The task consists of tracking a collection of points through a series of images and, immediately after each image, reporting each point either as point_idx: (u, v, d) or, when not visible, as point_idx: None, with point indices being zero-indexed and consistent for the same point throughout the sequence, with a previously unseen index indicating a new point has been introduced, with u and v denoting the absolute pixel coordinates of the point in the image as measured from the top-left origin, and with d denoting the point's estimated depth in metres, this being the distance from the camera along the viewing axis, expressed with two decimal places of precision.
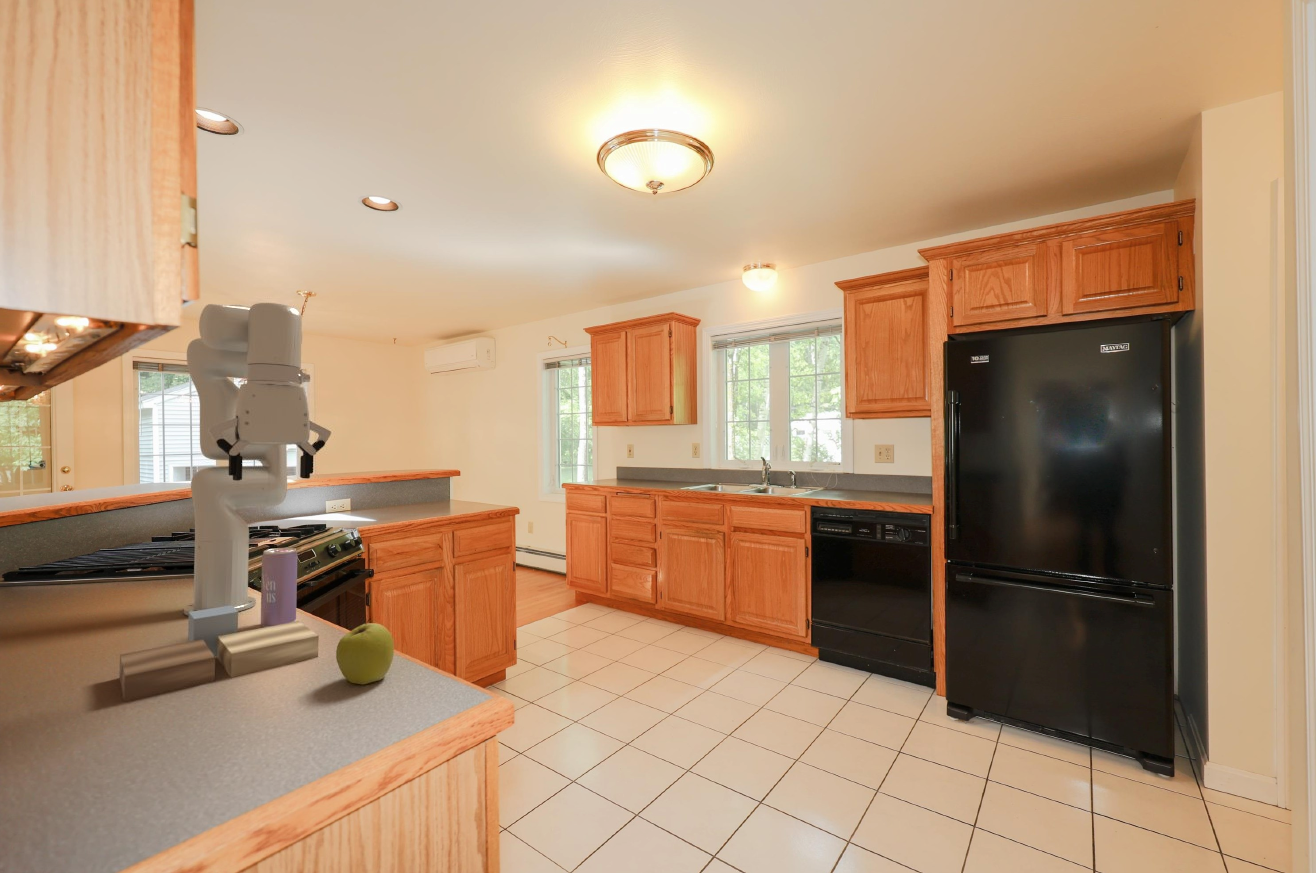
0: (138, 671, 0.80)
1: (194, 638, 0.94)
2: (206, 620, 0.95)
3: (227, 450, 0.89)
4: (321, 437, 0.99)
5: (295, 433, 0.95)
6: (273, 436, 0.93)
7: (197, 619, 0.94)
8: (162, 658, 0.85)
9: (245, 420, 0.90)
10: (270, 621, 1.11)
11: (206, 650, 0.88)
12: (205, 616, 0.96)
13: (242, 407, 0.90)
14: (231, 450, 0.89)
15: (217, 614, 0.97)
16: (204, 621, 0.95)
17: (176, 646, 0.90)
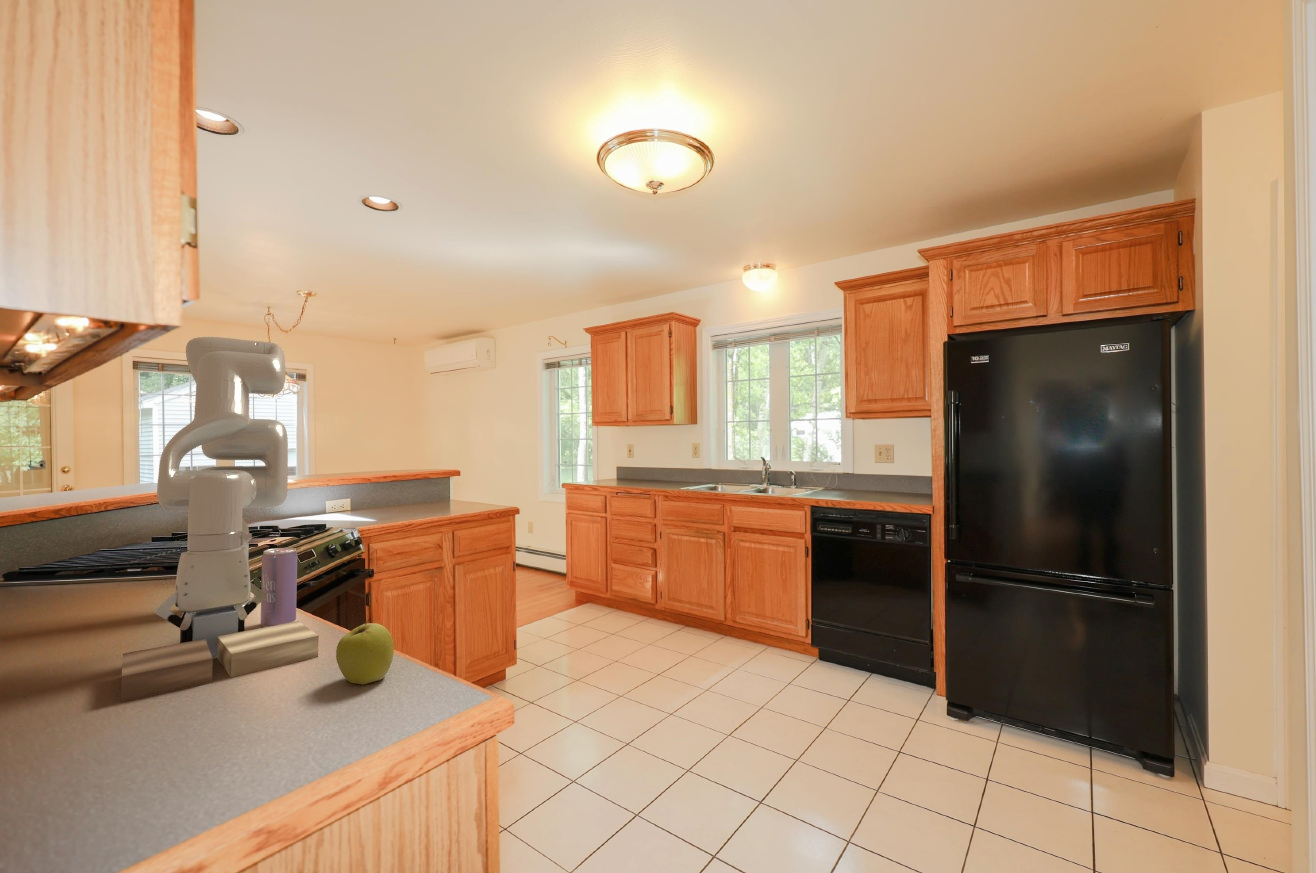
0: (135, 671, 0.80)
1: (194, 638, 0.94)
2: (206, 620, 0.95)
3: (178, 626, 0.94)
4: (255, 599, 1.02)
5: (235, 595, 0.99)
6: (213, 602, 0.97)
7: (197, 619, 0.94)
8: (161, 658, 0.85)
9: (184, 591, 0.94)
10: (270, 621, 1.11)
11: (206, 651, 0.88)
12: (205, 616, 0.95)
13: (181, 579, 0.94)
14: (181, 626, 0.94)
15: (217, 614, 0.97)
16: (204, 620, 0.95)
17: (178, 646, 0.90)
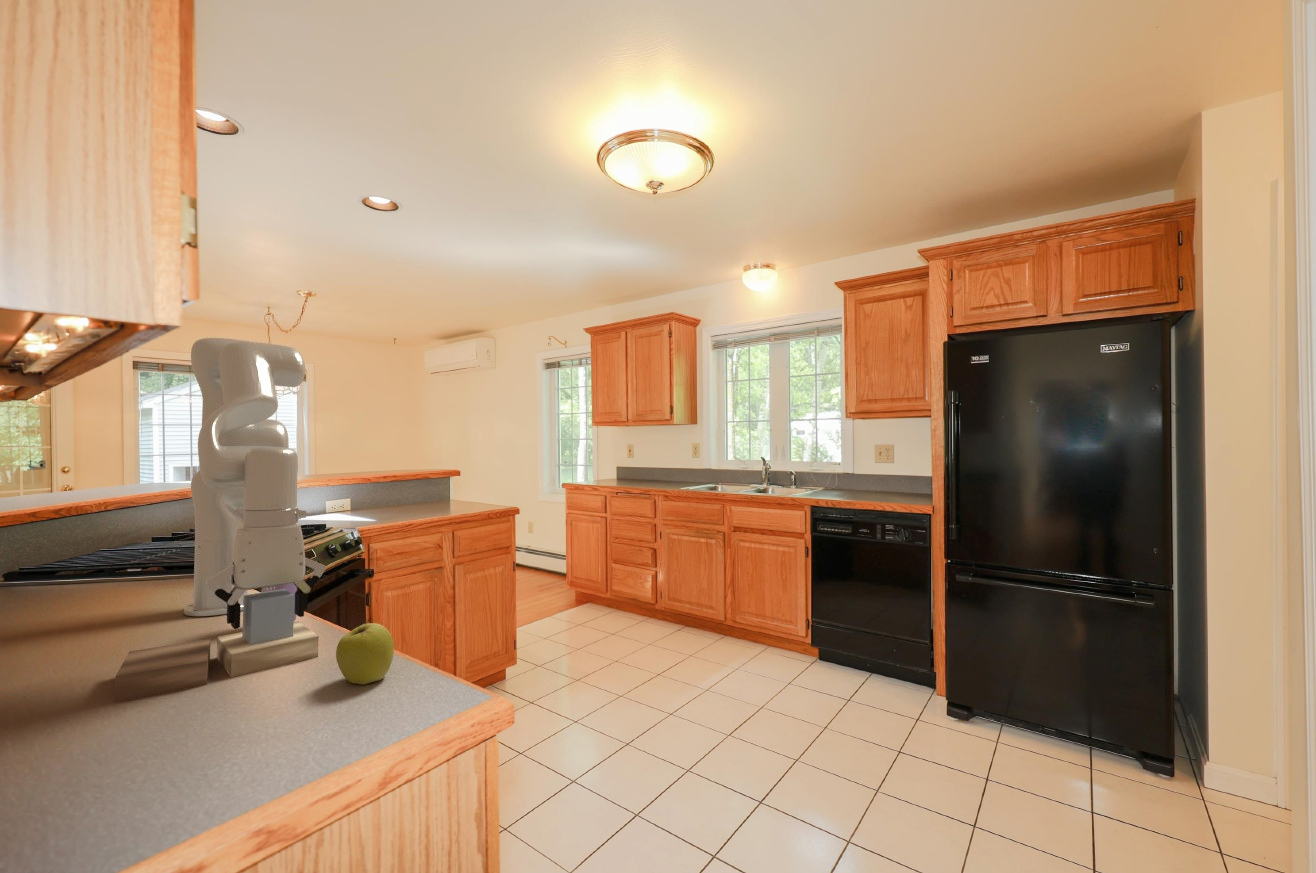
0: (130, 672, 0.80)
1: (251, 621, 0.92)
2: (263, 603, 0.93)
3: (225, 600, 0.91)
4: (316, 572, 1.01)
5: (291, 573, 0.96)
6: (269, 579, 0.94)
7: (254, 602, 0.92)
8: (160, 658, 0.85)
9: (241, 568, 0.91)
10: None
11: (205, 652, 0.88)
12: (262, 599, 0.93)
13: (238, 555, 0.91)
14: (229, 600, 0.91)
15: (274, 597, 0.94)
16: (261, 604, 0.92)
17: (182, 645, 0.91)
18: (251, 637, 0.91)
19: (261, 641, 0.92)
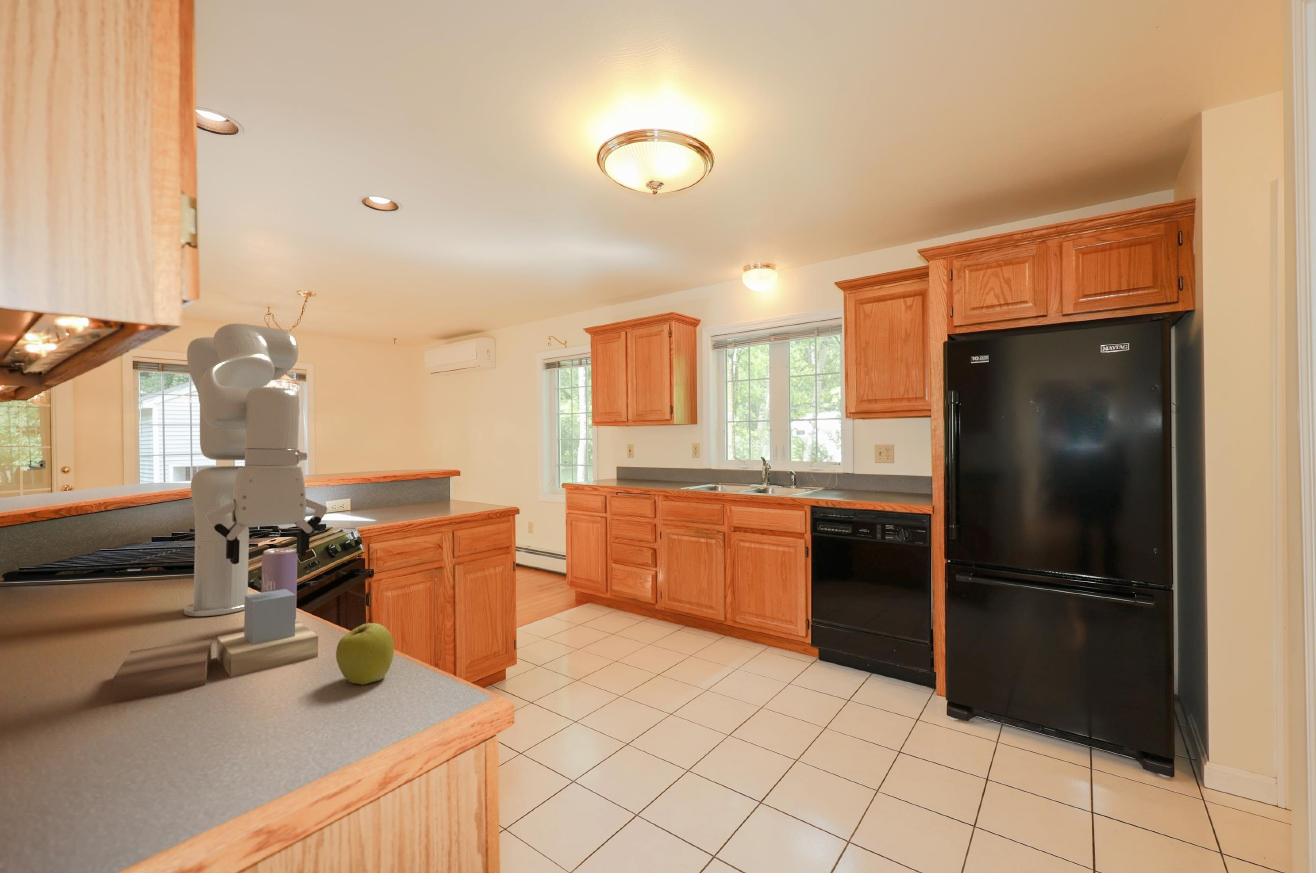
0: (128, 672, 0.80)
1: (253, 621, 0.92)
2: (265, 603, 0.93)
3: (224, 535, 0.91)
4: (317, 514, 1.01)
5: (291, 513, 0.97)
6: (270, 518, 0.95)
7: (256, 602, 0.92)
8: (160, 658, 0.85)
9: (242, 505, 0.92)
10: None
11: (204, 652, 0.88)
12: (263, 599, 0.93)
13: (239, 492, 0.92)
14: (228, 535, 0.91)
15: (275, 597, 0.94)
16: (263, 604, 0.93)
17: (183, 645, 0.91)
18: (253, 637, 0.92)
19: (263, 641, 0.93)
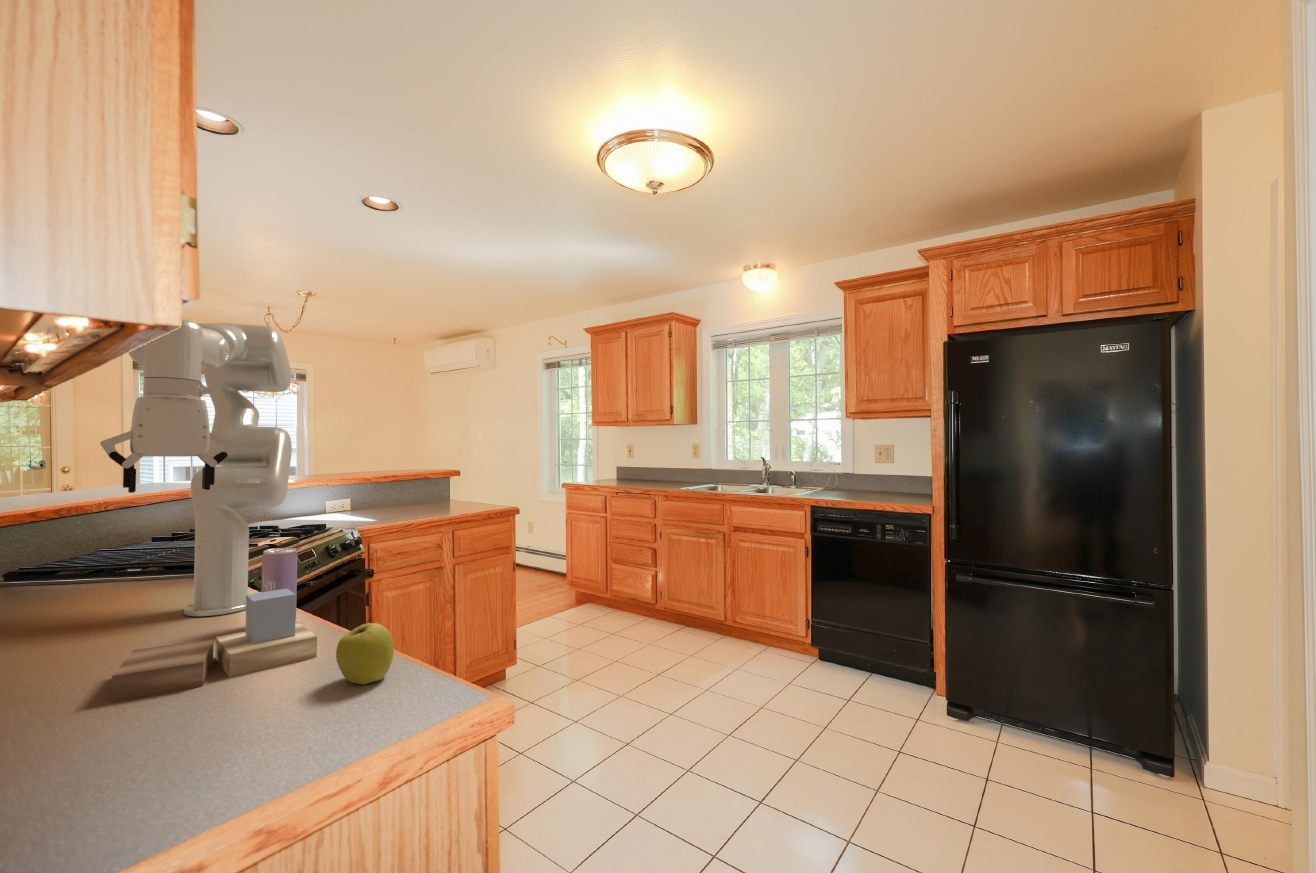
0: (127, 672, 0.80)
1: (253, 621, 0.92)
2: (265, 603, 0.93)
3: (120, 463, 0.91)
4: (223, 449, 1.01)
5: (193, 445, 0.97)
6: (169, 448, 0.94)
7: (256, 601, 0.92)
8: (160, 658, 0.85)
9: (138, 433, 0.92)
10: None
11: (204, 653, 0.87)
12: (263, 598, 0.93)
13: (136, 420, 0.92)
14: (124, 463, 0.91)
15: (275, 596, 0.95)
16: (262, 603, 0.93)
17: (185, 645, 0.91)
18: (253, 636, 0.92)
19: (263, 640, 0.93)
